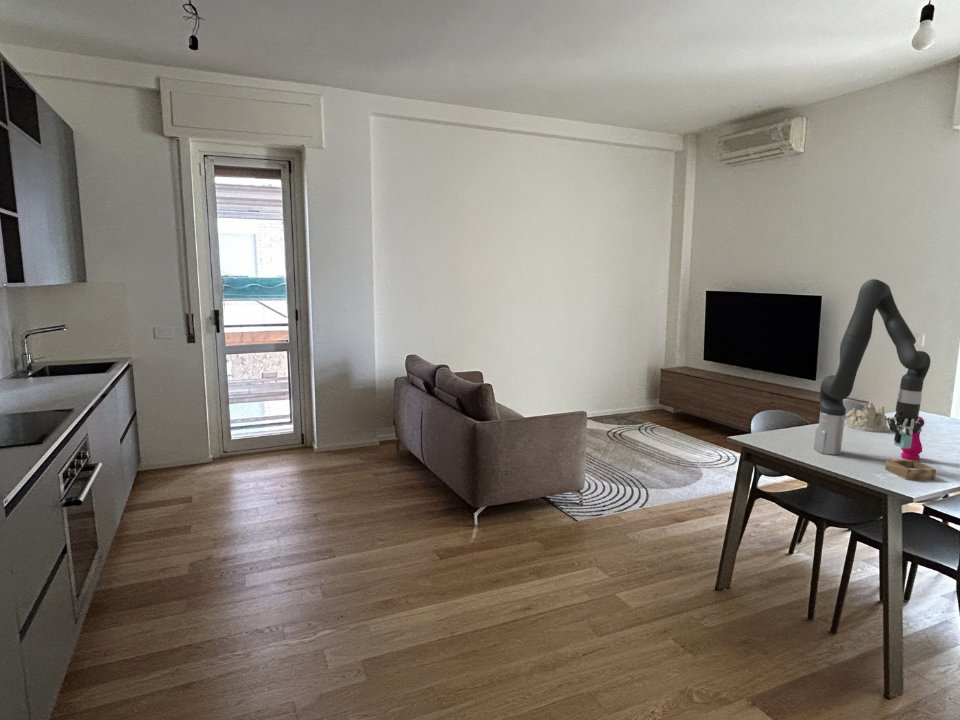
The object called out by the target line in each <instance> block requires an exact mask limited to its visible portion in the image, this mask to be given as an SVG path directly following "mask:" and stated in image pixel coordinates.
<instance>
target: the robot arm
mask: <svg viewBox="0 0 960 720" xmlns="http://www.w3.org/2000/svg"><path fill="white" fill-rule="evenodd" d="M891 290H892V289H891V288H890V286H889V284H887V283H886V282H885V281H882V280H879V279H875V278H874V279H872V278H871V279H869V280H866V281H865V282H864V283H862V285H861V286H860V289H859V291H858V295H857V300H856V304H855V307H854V310H853V313H852V315H851V317H850V319H849V322H848V324H847V327H846V329H845V332H844V335H843V336H842V339H841V342H840V346H839V365H838V368H837V371H836V372H835V373H836V374H835V375H832V374H831V375H828V376H826V377H824V378H823V380H822V381H821V383H820V387H819V388H820V389H819V391H820V392H819V406H820V412H819V419H818V420H819V421H818V427H815V434H814V435H815V436H814V443H813V450H814V451H816V452H819V453H821V454H825V455H826V454H827V455H833V456H834V455H840V454H841V453H842V445H843V444H842V443H843V436H844V430H845V429H844V428H845V422H846V416H845V415H846V414H847V413H846V411H847V408H846V407H845V404H844V400H845V399H847V398H849V396H850V395H851V393H852V391H853V389H854V385H855V381H856V376H857V374H858V370H859V367H860V365H861V362H862V360H863V358H864V355H865V352H866V350H867V348H868V345H869V343H870V340H871V338H872V332H873V323H874V316H875V312H876V310H877V312H878V314H879V315H880V316H881V319H882V321H883V323H884V327H885V330H886V332H887V335H888V336H889V337H890V339H891V341H892V343H893V344H894V346H895V349H896V354H897V357H898V360H899V362H900V364H901V365H902V366H903V367H904V368H906V369H907V372H906V373H905V374H904V375H902V377H901V379H900V384H899V390H898V393H897V399H896V404H895V414H894V416H893V417H886V418H887V420H886V422H887V424H888V428H889V430H890V431H891V432H893V433H894V442H896V443H900V441H901V434H902V433H905V434H908V435H912V434H914V433H915V434H916V433H917V432H918V431H919V429H920V428H922V427H921V426H922V425H923V424H924V425H925V420H924V419H923V420H924V421H923V420H921V419H919V418H918V414H919V415H920V410H921V402H922V398H923V397H922V395H923V394H922V393H923V387H924V381H925V378H926V376H927V374H928V372H929V369H930V367H931V357H930V355H929V353H928V352H926V351H924V350H923V351H922V350H917V349H916V347H915V344H916V342H917V339H916V337H915V336H914V334H913V332H912V330H911V329H910V327H909V325H908V324H907V322H906V321H905V319H904V318H903V316H902V314H901V312H900V310H899V308H898V306H897V304H896V302H895V300H894V296H893V294H892V291H891ZM904 430H905V432H904Z"/></svg>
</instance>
